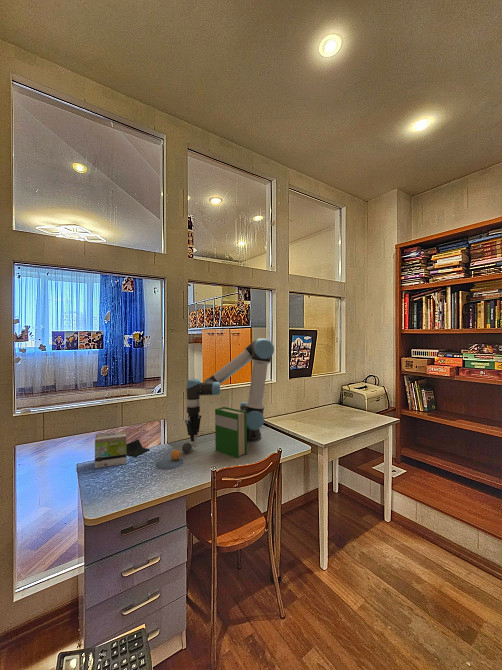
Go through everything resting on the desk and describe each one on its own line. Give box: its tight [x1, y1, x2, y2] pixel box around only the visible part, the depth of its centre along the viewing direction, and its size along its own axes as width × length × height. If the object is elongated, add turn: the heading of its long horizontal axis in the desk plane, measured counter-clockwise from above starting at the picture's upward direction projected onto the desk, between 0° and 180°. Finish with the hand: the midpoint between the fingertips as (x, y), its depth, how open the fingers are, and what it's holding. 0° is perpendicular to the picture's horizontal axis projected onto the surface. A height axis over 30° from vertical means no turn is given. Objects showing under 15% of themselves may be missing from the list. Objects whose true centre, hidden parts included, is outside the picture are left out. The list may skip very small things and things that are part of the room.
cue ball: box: [181, 442, 193, 454], centre depth 174 cm, size 6×6×6 cm
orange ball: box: [170, 449, 182, 460], centre depth 165 cm, size 6×6×6 cm
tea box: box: [94, 430, 127, 469], centre depth 162 cm, size 15×10×15 cm, turn 114°
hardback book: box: [214, 406, 248, 460], centre depth 174 cm, size 18×7×24 cm, turn 49°
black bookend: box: [126, 439, 151, 458], centre depth 176 cm, size 12×7×10 cm
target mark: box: [155, 457, 184, 470], centre depth 160 cm, size 14×14×1 cm
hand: (193, 446), depth 179 cm, fingers closed
